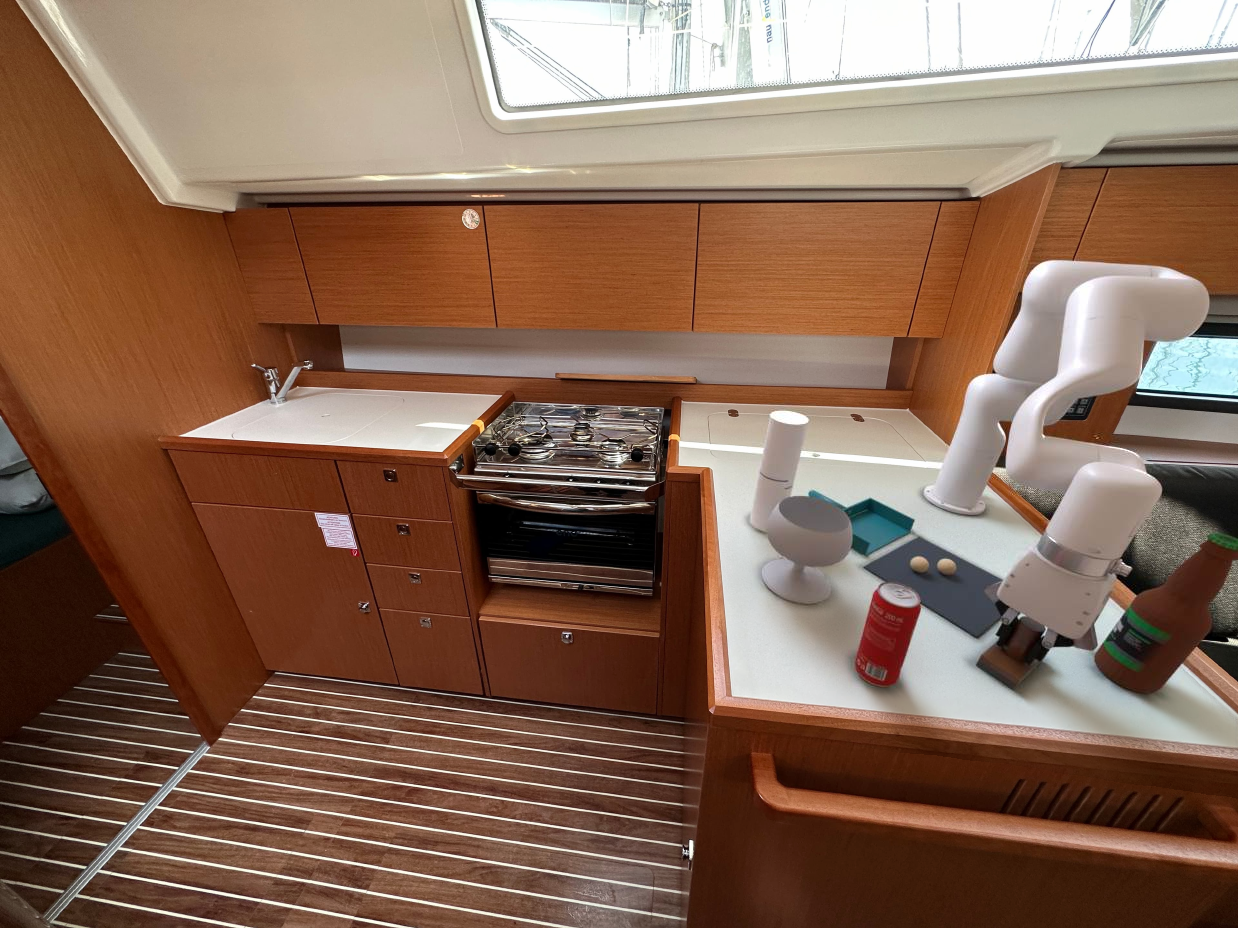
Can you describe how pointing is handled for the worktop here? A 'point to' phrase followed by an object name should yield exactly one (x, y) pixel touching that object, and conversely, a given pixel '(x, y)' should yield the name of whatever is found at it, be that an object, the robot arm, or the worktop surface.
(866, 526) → the dustpan
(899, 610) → the beverage can
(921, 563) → the crumb
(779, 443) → the cylindrical container
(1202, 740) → the worktop surface
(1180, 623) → the bottle
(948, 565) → the crumb
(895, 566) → the mat
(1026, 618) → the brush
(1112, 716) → the worktop surface
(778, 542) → the chalice
